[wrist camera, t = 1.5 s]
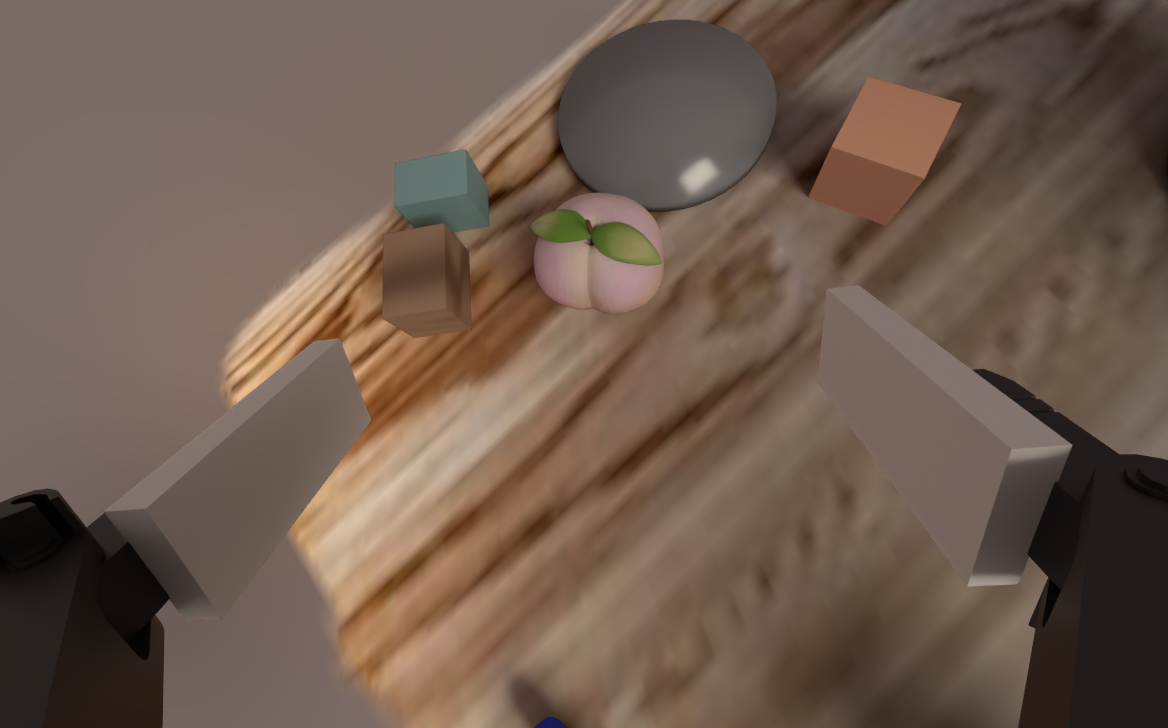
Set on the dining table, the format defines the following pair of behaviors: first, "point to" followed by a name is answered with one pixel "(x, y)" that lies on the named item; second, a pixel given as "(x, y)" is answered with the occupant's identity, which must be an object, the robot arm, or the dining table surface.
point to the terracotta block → (883, 150)
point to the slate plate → (668, 114)
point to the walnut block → (426, 281)
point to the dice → (550, 723)
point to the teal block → (442, 192)
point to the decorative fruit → (599, 253)
